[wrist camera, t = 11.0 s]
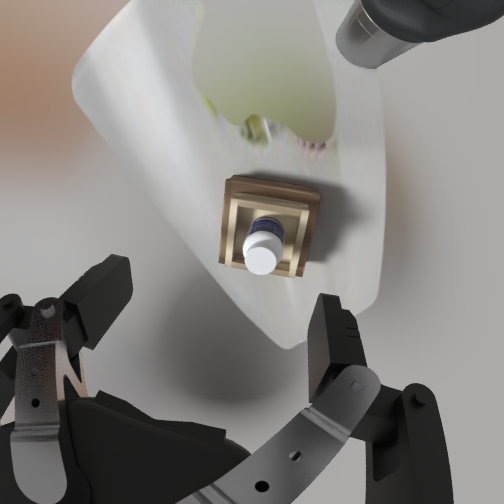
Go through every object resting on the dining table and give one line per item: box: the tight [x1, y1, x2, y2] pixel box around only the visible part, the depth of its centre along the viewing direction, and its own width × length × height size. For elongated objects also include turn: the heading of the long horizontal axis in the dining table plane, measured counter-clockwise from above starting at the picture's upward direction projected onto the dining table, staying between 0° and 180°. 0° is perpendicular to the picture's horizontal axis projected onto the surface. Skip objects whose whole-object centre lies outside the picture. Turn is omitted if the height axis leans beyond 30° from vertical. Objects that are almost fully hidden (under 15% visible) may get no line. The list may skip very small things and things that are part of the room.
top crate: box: [225, 192, 309, 278], centre depth 41 cm, size 11×11×4 cm
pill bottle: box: [243, 215, 284, 275], centre depth 38 cm, size 5×5×10 cm
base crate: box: [219, 175, 321, 277], centre depth 45 cm, size 14×14×5 cm
